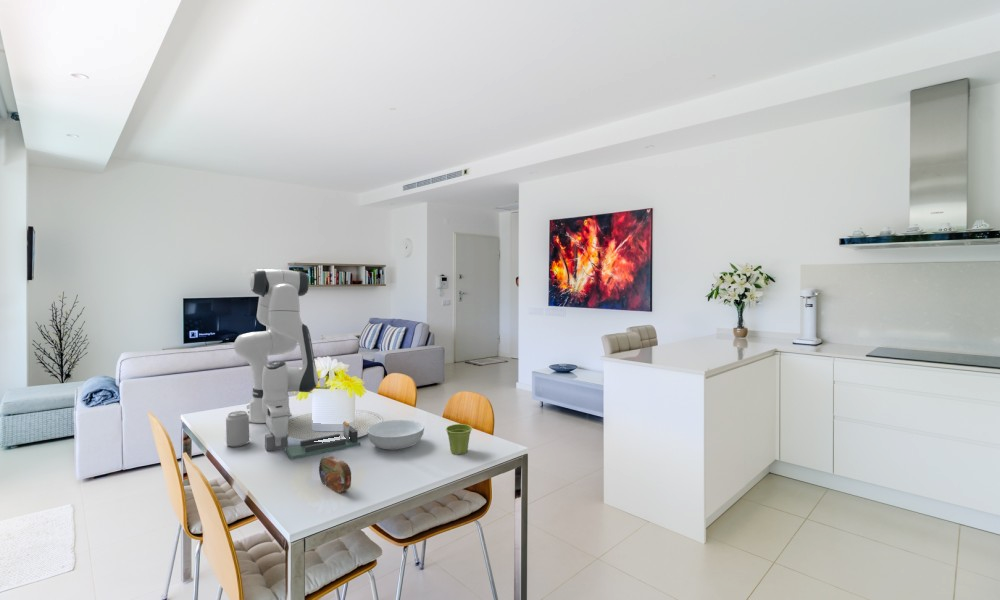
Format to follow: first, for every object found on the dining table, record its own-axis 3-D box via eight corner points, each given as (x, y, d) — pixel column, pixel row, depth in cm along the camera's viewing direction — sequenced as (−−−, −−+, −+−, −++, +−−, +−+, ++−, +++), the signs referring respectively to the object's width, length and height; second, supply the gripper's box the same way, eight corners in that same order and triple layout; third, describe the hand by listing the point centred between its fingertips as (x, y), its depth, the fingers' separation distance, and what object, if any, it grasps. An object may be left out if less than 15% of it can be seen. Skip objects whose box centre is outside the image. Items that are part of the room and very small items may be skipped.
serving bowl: (435, 443, 176) (435, 425, 176) (394, 460, 159) (394, 441, 159) (397, 432, 188) (397, 415, 188) (355, 447, 171) (355, 429, 170)
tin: (318, 481, 142) (317, 454, 142) (327, 478, 145) (327, 451, 144) (343, 497, 132) (343, 468, 132) (353, 493, 135) (353, 464, 134)
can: (239, 448, 169) (238, 416, 168) (221, 446, 170) (220, 414, 170) (254, 441, 176) (253, 410, 176) (237, 440, 178) (236, 409, 177)
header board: (285, 450, 167) (284, 429, 167) (351, 437, 181) (351, 417, 181) (291, 459, 159) (291, 436, 159) (359, 444, 173) (359, 424, 173)
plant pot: (463, 458, 161) (464, 433, 161) (440, 453, 165) (441, 430, 165) (476, 449, 170) (476, 426, 169) (454, 445, 174) (454, 422, 173)
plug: (264, 447, 170) (264, 434, 170) (286, 443, 174) (286, 430, 174) (266, 451, 167) (266, 437, 166) (289, 446, 171) (288, 433, 171)
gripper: (261, 401, 176) (262, 436, 177) (271, 414, 160) (272, 453, 160) (279, 398, 180) (279, 433, 180) (291, 411, 163) (291, 449, 164)
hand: (276, 443), depth 170 cm, fingers closed on plug, 4 cm apart
